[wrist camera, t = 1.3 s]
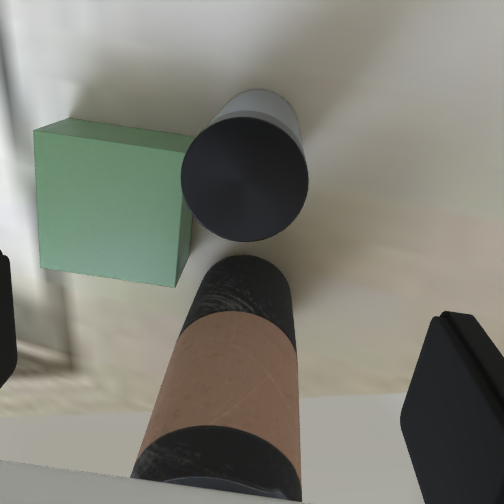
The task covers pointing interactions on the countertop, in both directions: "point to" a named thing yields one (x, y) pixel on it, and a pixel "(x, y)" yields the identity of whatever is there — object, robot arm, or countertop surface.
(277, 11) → the countertop surface
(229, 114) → the steel flask
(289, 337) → the travel mug
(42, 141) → the green block
